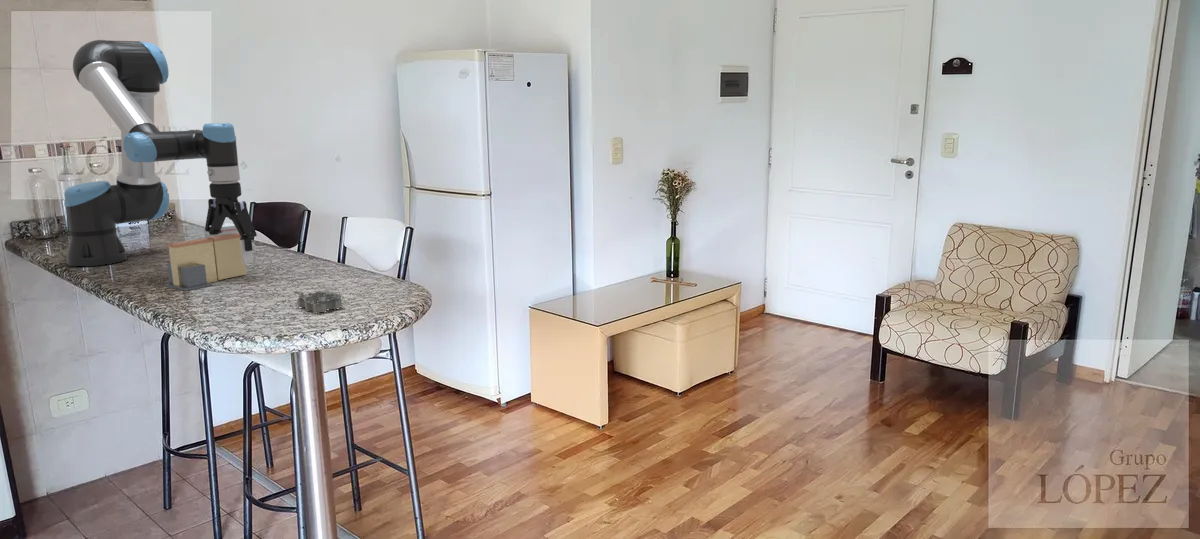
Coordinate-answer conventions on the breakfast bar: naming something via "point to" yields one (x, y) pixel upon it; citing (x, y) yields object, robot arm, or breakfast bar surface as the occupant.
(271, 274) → the breakfast bar surface
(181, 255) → the ticket holder
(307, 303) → the grey flat lobed block
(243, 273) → the stub
